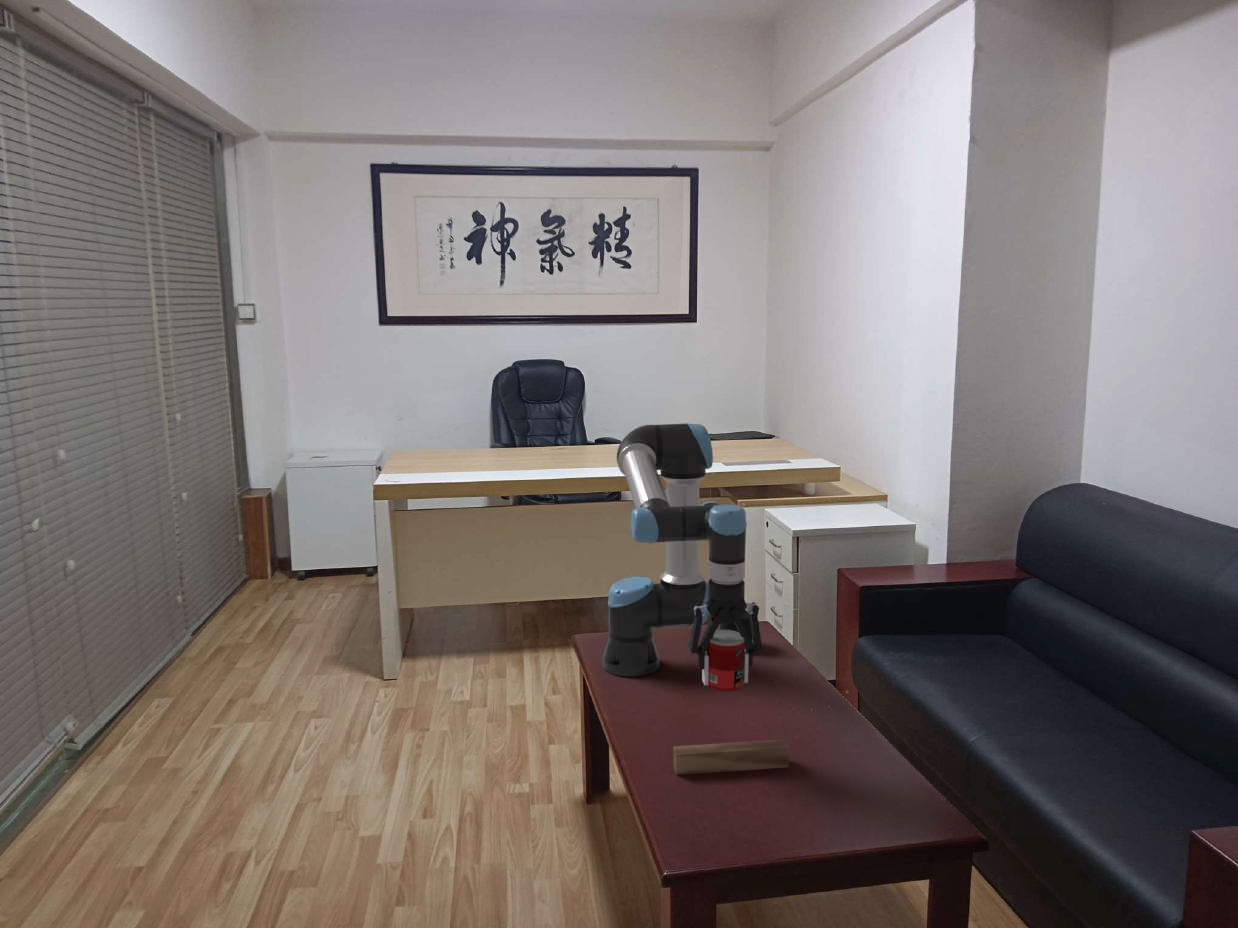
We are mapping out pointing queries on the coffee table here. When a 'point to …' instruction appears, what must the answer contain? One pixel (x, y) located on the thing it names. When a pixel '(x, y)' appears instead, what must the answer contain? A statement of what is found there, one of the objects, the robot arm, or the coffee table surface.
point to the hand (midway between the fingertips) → (724, 681)
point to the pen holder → (746, 624)
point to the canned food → (726, 661)
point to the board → (730, 756)
